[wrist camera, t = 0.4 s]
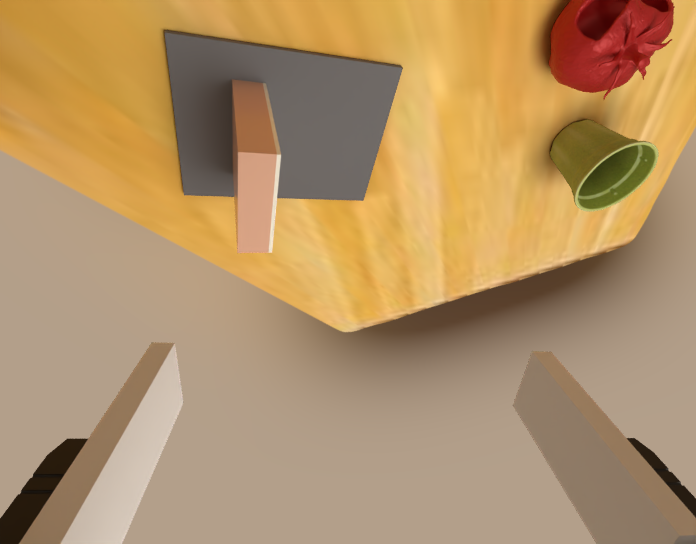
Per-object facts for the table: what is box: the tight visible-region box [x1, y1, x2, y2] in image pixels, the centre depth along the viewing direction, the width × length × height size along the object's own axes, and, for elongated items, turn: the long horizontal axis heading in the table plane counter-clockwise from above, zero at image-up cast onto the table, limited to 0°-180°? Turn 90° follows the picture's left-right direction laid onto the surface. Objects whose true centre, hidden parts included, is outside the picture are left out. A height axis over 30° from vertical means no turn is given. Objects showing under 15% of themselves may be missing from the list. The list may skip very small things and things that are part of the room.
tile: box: [232, 79, 281, 253], centre depth 34 cm, size 10×3×12 cm, turn 167°
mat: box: [165, 30, 403, 201], centre depth 40 cm, size 16×21×1 cm
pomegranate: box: [549, 0, 675, 99], centre depth 36 cm, size 10×10×9 cm
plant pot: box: [550, 119, 658, 211], centre depth 47 cm, size 9×9×9 cm
